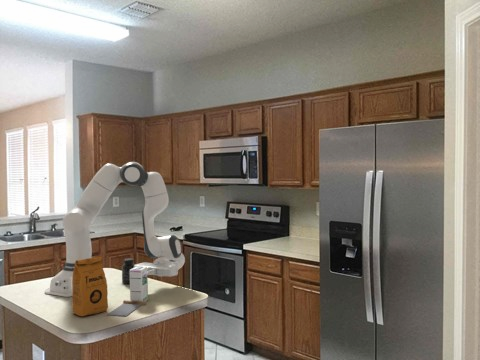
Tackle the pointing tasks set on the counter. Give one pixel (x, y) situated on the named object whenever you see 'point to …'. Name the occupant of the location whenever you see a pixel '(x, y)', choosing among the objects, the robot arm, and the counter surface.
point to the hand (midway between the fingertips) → (144, 273)
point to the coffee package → (89, 287)
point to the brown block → (134, 302)
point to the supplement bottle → (127, 270)
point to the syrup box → (138, 284)
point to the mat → (124, 310)
